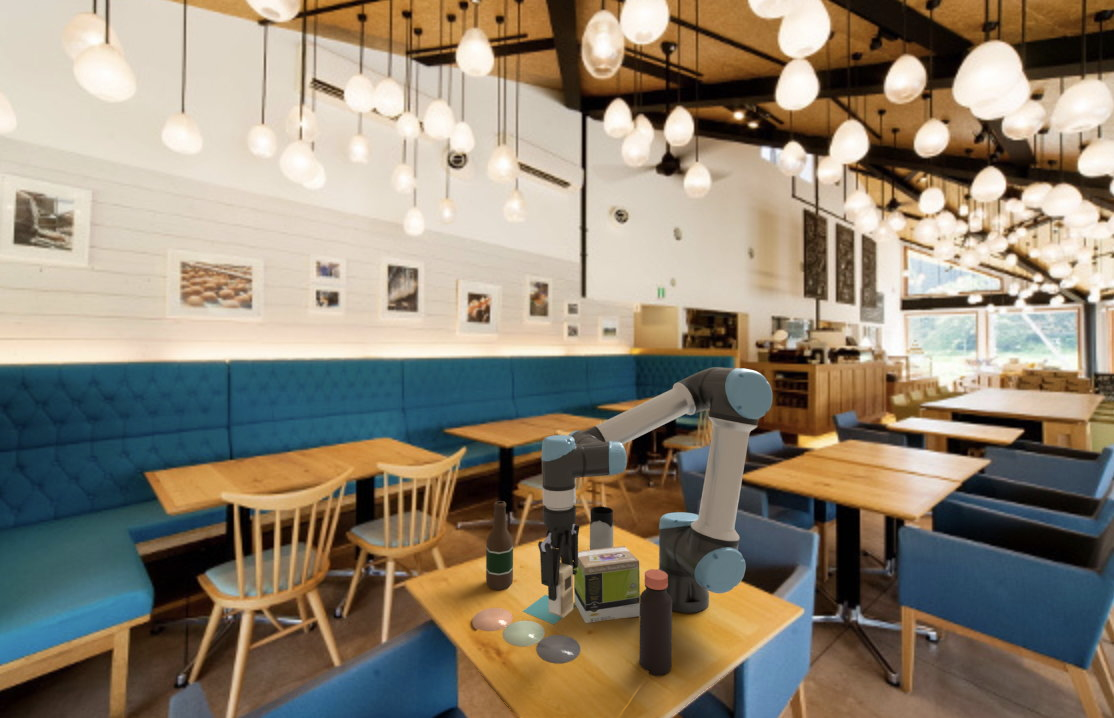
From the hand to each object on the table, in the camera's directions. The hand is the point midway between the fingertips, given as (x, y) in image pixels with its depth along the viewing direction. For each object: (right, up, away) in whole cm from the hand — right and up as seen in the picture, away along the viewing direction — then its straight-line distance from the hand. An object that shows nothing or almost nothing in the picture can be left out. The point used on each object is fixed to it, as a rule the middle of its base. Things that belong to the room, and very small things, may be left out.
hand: (561, 607), depth 104 cm
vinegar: (+20, -10, -5) cm, 23 cm away
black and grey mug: (+15, -10, +52) cm, 55 cm away
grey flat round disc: (-1, -10, 0) cm, 10 cm away
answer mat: (-3, -10, +16) cm, 19 cm away
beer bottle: (-18, -10, +30) cm, 36 cm away
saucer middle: (-9, -10, +6) cm, 14 cm away
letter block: (0, -1, 0) cm, 1 cm away
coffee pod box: (+12, -10, +16) cm, 23 cm away
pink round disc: (-17, -10, +11) cm, 23 cm away
